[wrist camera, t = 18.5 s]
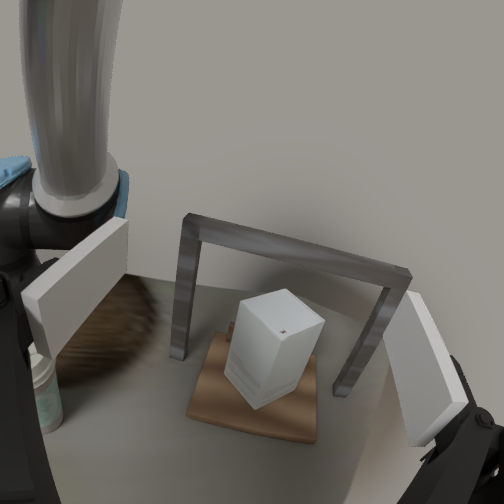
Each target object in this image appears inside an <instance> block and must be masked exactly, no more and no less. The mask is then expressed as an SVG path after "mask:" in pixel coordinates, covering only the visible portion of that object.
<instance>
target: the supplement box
mask: <svg viewBox="0 0 504 504" xmlns="http://www.w3.org/2000/svg"><path fill="white" fill-rule="evenodd" d="M324 323H325V320H324V319H323V318H322V317H320V316H319V315H318V314H317V313H315V312H314V311H313V310H312V309H310V308H309V307H308V306H307V305H305V304H304V303H303V302H302V301H300V300H299V299H298V298H297V297H296V296H294V295H293V294H292V293H291V292H290V291H288V290H287V289H282V290H278V291H275V292H271V293H267V294H264V295H260V296H257V297H253V298H249V299H245V300H241V301H240V304H239V309H238V313H237V318H236V322H235V327H234V331H233V335H232V340H231V344H230V349H229V353H228V357H227V362H226V366H225V371H224V375H225V376H226V377H227V378H228V380H229V381H230V382H231V383H232V384H233V386H234V387H235V388H236V389H237V390H238V391H239V393H240V394H241V395H242V396H243V397H244V398H245V400H246V401H247V402H248V403H249V404H250V405H251V407H252V408H253V409H254V410H256V409H258V408H260V407H263V406H265V405H267V404H268V403H271V402H273V401H274V400H276V399H278V398H280V397H282V396H284V395H286V394H288V393H290V392H292V391H293V390H295V388H296V386H297V384H298V382H299V380H300V378H301V376H302V373H303V371H304V369H305V367H306V365H307V362H308V360H309V358H310V356H311V353H312V351H313V349H314V347H315V344H316V342H317V339H318V337H319V335H320V332H321V330H322V328H323V325H324Z"/></svg>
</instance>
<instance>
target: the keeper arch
mask: <svg viewBox="0 0 504 504" xmlns="http://www.w3.org/2000/svg"><path fill="white" fill-rule="evenodd" d="M202 241H204V242H208V243H212V244H216V245H220V246H224V247H228V248H232V249H236V250H240V251H245V252H248V253H252V254H256V255H261V256H264V257H268V258H272V259H276V260H280V261H284V262H288V263H292V264H296V265H300V266H304V267H308V268H312V269H316V270H320V271H324V272H328V273H332V274H336V275H340V276H344V277H348V278H352V279H356V280H360V281H364V282H368V283H372V284H376V285H380V286H384V288H383V290H382V292H381V294H380V296H379V298H378V301H377V303H376V305H375V307H374V309H373V311H372V313H371V315H370V317H369V319H368V321H367V323H366V325H365V327H364V329H363V331H362V333H361V335H360V337H359V339H358V341H357V343H356V345H355V346H354V348H353V350H352V352H351V354H350V356H349V358H348V359H347V361H346V363H345V365H344V367H343V368H342V370H341V372H340V374H339V375H338V377H337V379H336V381H335V382H334V384H333V396H339V397H346V396H347V395H348V393H349V392H350V390H351V389H352V387H353V386H354V384H355V382H356V381H357V379H358V378H359V376H360V374H361V373H362V371H363V369H364V368H365V366H366V364H367V363H368V361H369V359H370V358H371V356H372V354H373V353H374V351H375V349H376V347H377V346H378V344H379V342H380V340H381V338H382V337H383V333H384V332H385V330H386V328H387V326H388V324H389V323H390V321H391V319H392V317H393V315H394V313H395V311H396V309H397V308H398V306H399V304H400V302H401V300H402V298H403V296H404V294H405V292H406V290H407V288H408V286H409V284H410V282H411V280H412V278H413V277H412V275H411V273H410V272H409V270H408V269H407V268H403V267H399V266H396V265H392V264H388V263H385V262H381V261H377V260H374V259H370V258H366V257H363V256H358V255H355V254H351V253H347V252H344V251H340V250H336V249H332V248H328V247H325V246H321V245H317V244H313V243H309V242H305V241H301V240H298V239H294V238H290V237H286V236H282V235H278V234H274V233H270V232H265V231H262V230H258V229H254V228H250V227H246V226H242V225H238V224H234V223H230V222H226V221H222V220H217V219H213V218H209V217H204V216H201V215H196V214H192V213H188V214H187V215H186V216H185V217H184V219H183V224H182V232H181V239H180V247H179V256H178V265H177V275H176V284H175V294H174V305H173V317H172V329H171V343H170V357H171V358H174V359H177V360H180V361H183V360H184V358H185V355H186V353H187V347H188V339H189V331H190V323H191V315H192V307H193V300H194V292H195V285H196V278H197V271H198V264H199V258H200V251H201V244H202ZM234 327H235V323H234V322H231V323H230V326H229V330H228V335H227V334H223V333H219V332H216V331H215V334H214V337H213V339H212V342H211V345H210V348H209V351H208V353H207V356H206V359H205V362H204V365H203V367H202V370H201V373H200V376H199V379H198V382H197V384H196V387H195V390H194V393H193V396H192V398H191V401H190V404H189V407H188V410H187V413H186V417H189V418H192V419H195V420H199V421H203V422H206V423H210V424H214V425H218V426H222V427H226V428H230V429H234V430H239V431H243V432H248V433H252V434H257V435H262V436H267V437H272V438H278V439H284V440H290V441H296V442H303V443H310V444H314V442H315V441H316V355H313V354H311V356H310V358H309V360H308V362H307V365H306V367H305V369H304V371H303V373H302V376H301V378H300V380H299V382H298V384H297V386H296V388H295V390H293V391H292V392H290V393H288V394H286V395H284V396H282V397H280V398H278V399H276V400H274V401H273V402H271V403H268V404H267V405H265V406H263V407H260V408H258V409H256V410H254V409H253V408H252V407H251V405H250V404H249V403H248V402H247V401H246V400H245V398H244V397H243V396H242V395H241V394H240V393H239V391H238V390H237V389H236V388H235V387H234V386H233V384H232V383H231V382H230V381H229V380H228V378H227V377H226V376H225V375H224V371H225V366H226V362H227V357H228V353H229V349H230V344H231V340H232V335H233V331H234Z"/></svg>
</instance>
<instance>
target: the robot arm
mask: <svg viewBox="0 0 504 504" xmlns="http://www.w3.org/2000/svg"><path fill="white" fill-rule="evenodd" d="M122 2H123V0H20V1H19V26H20V27H19V28H20V50H21V63H22V74H23V83H24V91H25V99H26V106H27V112H28V118H29V124H30V130H31V135H32V140H33V145H34V150H35V155H36V159H37V163H38V167H37V168H36V169H34V168H31V167H32V163H31V160H30V158H29V157H27V156H25V157H24V156H14V157H8V158H3V159H0V504H61V501H60V498H59V495H58V492H57V489H56V486H55V483H54V480H53V476H52V473H51V469H50V466H49V462H48V458H47V454H46V450H45V446H44V441H43V437H42V432H41V428H40V422H39V417H38V412H37V406H36V400H35V393H34V386H33V378H32V369H31V359H30V352H29V349H28V348H29V346H30V345H31V344H32V343H33V342H34V345H35V348H36V351H37V353H38V354H40V355H42V356H44V357H46V358H48V359H50V360H52V361H53V360H54V358H55V357H56V356H57V355H58V353H59V352H60V351H61V349H62V348H63V347H64V346H65V344H66V343H67V342H68V340H69V339H70V338H71V337H72V335H73V334H74V333H75V332H76V330H77V329H78V328H79V327H80V326H81V324H82V323H83V322H84V321H85V319H86V318H87V317H88V316H89V315H90V313H91V312H92V311H93V310H94V309H95V307H96V306H97V305H98V304H99V303H100V301H101V300H102V299H103V298H104V297H105V296H106V294H107V293H108V292H109V291H110V290H111V289H112V287H113V286H114V285H115V284H116V283H117V282H118V280H119V279H120V278H121V277H122V276H123V275H124V274H125V273H126V271H127V246H128V223H129V220H127V219H124V218H125V213H126V209H127V201H128V191H129V176H128V173H127V172H125V171H122V170H120V169H118V167H117V164H116V161H115V160H114V158H113V157H112V156H111V154H110V153H108V152H107V142H108V118H109V101H110V89H111V79H112V69H113V60H114V52H115V45H116V38H117V30H118V24H119V19H120V13H121V8H122ZM35 249H52V250H70V251H69V252H68V253H66V254H65V255H64V256H63V257H62V258H60V259H59V258H53V259H51V260H48V261H46V262H44V263H43V264H42V265H41V263H40V261H39V259H38V257H37V255H36V251H35ZM383 338H384V342H385V345H386V349H387V353H388V356H389V360H390V364H391V368H392V371H393V375H394V380H395V383H396V387H397V392H398V396H399V401H400V404H401V409H402V413H403V418H404V422H405V428H406V433H407V438H408V443H409V447H425V446H426V445H427V444H428V443H429V442H430V441H432V440H433V439H434V438H435V442H436V446H435V447H434V448H432V449H431V450H430V451H429V452H428V453H427V454H426V455H425V456H423V457H422V458H421V459H420V461H421V462H422V461H423V460H424V459H426V460H425V461H424V463H423V465H422V466H421V468H420V469H419V471H418V473H417V474H416V476H415V477H414V479H413V480H412V482H411V484H410V485H409V487H408V488H407V490H406V491H405V493H404V494H403V495H402V497H401V498H400V500H399V501H398V502H397V504H504V427H503V426H500V425H496V424H495V422H494V419H493V417H492V416H491V414H490V413H489V412H488V411H487V410H485V409H483V408H481V407H477V405H476V402H475V400H474V398H473V395H472V392H471V390H470V388H469V385H468V383H466V378H465V376H464V375H463V372H462V369H461V367H460V364H459V363H458V362H457V361H456V360H455V358H454V357H453V356H451V355H449V353H448V351H447V349H446V347H445V345H444V342H443V340H442V338H441V336H440V334H439V332H438V330H437V327H436V326H435V323H434V321H433V319H432V317H431V315H430V313H429V311H428V309H427V307H426V305H425V303H424V301H423V300H422V298H421V296H420V294H419V293H415V292H411V291H407V290H406V292H405V294H404V296H403V298H402V300H401V302H400V304H399V306H398V308H397V309H396V311H395V313H394V315H393V317H392V319H391V321H390V323H389V324H388V326H387V328H386V330H385V332H384V333H383ZM498 468H499V471H498V474H497V475H496V476H494V472H495V470H496V469H498Z"/></svg>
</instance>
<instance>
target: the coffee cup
mask: <svg viewBox="0 0 504 504" xmlns="http://www.w3.org/2000/svg"><path fill="white" fill-rule="evenodd" d="M28 349H29V352H30V359H31V369H32V378H33V386H34V393H35V400H36V406H37V412H38V417H39V422H40V428H41V432H42V434H46V433H50V432H52V431H54V430H56V429H57V428H58V427H59V426H60V424H61V422H62V420H63V410H62V405H61V399H60V394H59V389H58V383H57V377H56V371H55V364H56V357H55V358H54V360H53V361H52V360H50V359H48V358H46V357H44V356H42V355H40V354H38V353H37V351H36V348H35V345H34V342H33V343H32V344H31V345H30V346H29V348H28Z"/></svg>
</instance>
